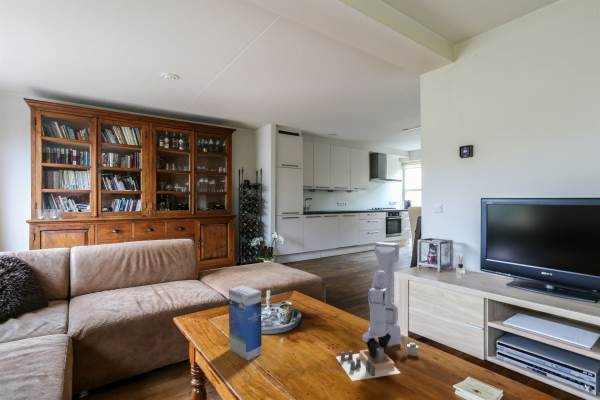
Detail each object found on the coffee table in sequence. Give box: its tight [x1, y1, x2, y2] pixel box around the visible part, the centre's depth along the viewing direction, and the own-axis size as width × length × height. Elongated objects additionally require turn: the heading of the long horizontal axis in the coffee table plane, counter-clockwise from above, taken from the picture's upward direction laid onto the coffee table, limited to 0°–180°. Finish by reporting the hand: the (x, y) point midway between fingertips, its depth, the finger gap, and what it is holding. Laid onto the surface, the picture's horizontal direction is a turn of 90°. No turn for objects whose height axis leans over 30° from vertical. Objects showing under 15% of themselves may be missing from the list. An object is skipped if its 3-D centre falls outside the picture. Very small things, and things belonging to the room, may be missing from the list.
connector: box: [367, 344, 384, 364], centre depth 115 cm, size 3×5×7 cm, turn 35°
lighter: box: [399, 334, 419, 357], centre depth 122 cm, size 7×2×8 cm, turn 72°
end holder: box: [358, 349, 395, 371], centre depth 116 cm, size 9×11×2 cm
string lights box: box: [228, 284, 263, 361], centre depth 124 cm, size 13×8×26 cm, turn 47°
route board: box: [335, 350, 401, 382], centre depth 114 cm, size 19×16×4 cm
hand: (377, 355), depth 115 cm, fingers open, 5 cm apart
